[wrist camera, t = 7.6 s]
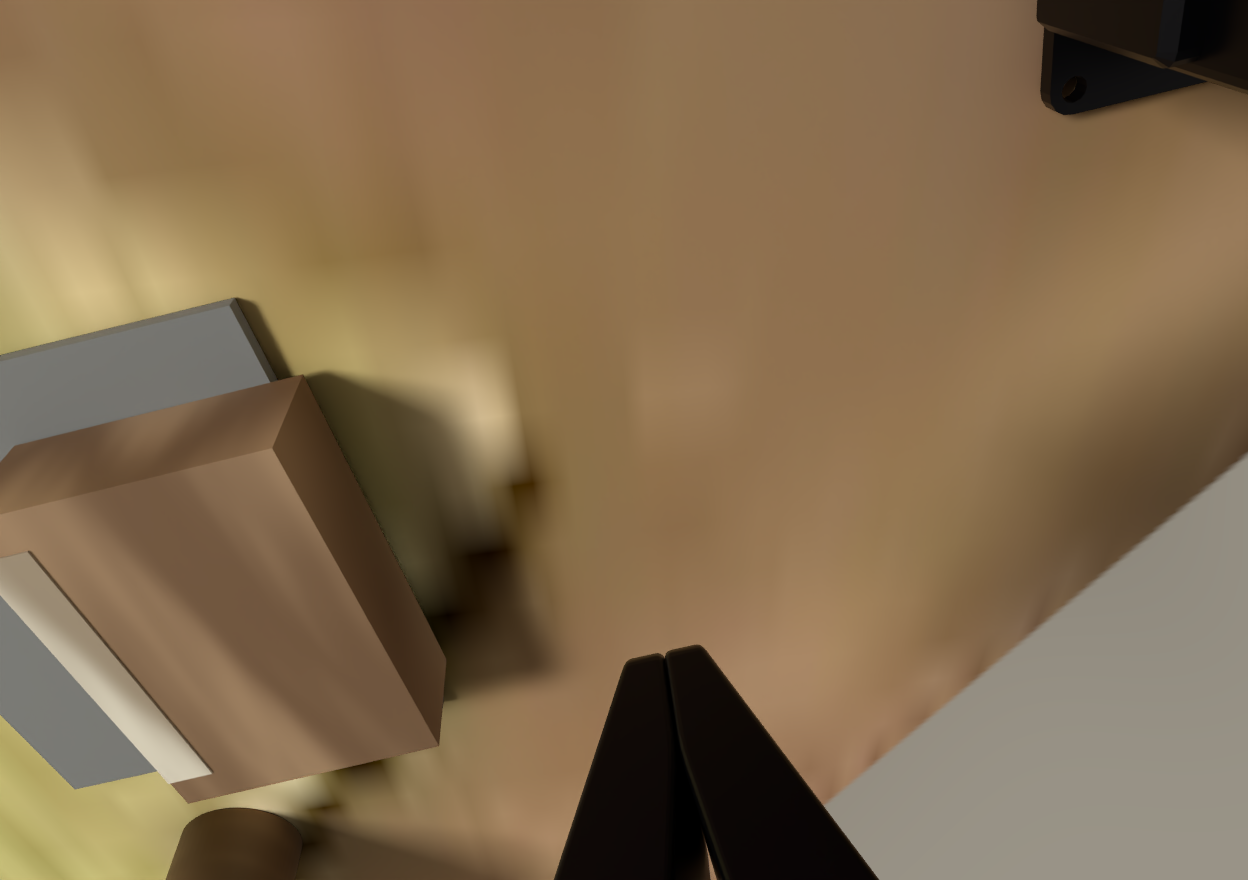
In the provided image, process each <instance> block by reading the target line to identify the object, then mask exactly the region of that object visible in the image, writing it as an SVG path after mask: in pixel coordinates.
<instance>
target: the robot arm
mask: <svg viewBox="0 0 1248 880" xmlns="http://www.w3.org/2000/svg"><path fill="white" fill-rule="evenodd" d="M1037 21H1038V22H1039V23H1040V24H1042V25H1043V26H1044V39H1043V56H1042V73H1041V90H1040V92H1041V99H1042V101H1043V103H1044V104H1045V106H1046V107H1048V108H1050V109H1052V110H1054V111H1056V112H1058V113H1061V114H1063V115H1070V114H1076V113H1080V112H1084V111H1088V110H1093V109H1097V108H1101V107H1105V106H1109V105H1113V104H1117V103H1121V102H1125V101H1129V100H1133V99H1138V98H1142V97H1146V96H1150V95H1154V94H1158V93H1162V92H1166V91H1170V90H1174V89H1178V88H1183V87H1187V86H1191V85H1195V84H1199V83H1203V82H1207V81H1208V82H1211V83H1215V84H1218V85H1221V86H1224V87H1227V88H1230V89H1233V90H1236V91H1239V92H1242V93H1245V94H1248V0H1037ZM1075 76H1076V80H1077V83H1076V86H1075V89H1074V90H1073V92H1072V93H1071V94H1070V95H1068V96H1067V97H1065V98H1063V96H1062V90H1063V87H1064V85H1065V84H1066V83H1067V81H1068V80H1069V79H1071V78H1073V77H1075ZM706 844H707V847H706ZM707 848H708V851H709V855H710V858H711V861H712V865H713V868H714V872H715V875H716V878H717V880H879V879H878V878H877V876H876V875H875V874H874V872H873V871H872V870H871V868H870V867H869V866H868V864H867V863H866V862H865V860H864V859H863V858H862V857H861V855H860V854H859V853H858V851H857V850H856V848H855V847H854V846H853V845H852V843H851V842H850V840H849V839H848V838H847V836H846V835H845V834H844V833H843V831H842V830H841V829H840V827H839V826H838V825H837V823H836V822H835V821H834V819H833V818H832V817H831V815H830V814H829V813H828V811H827V810H826V809H825V807H824V806H823V805H822V803H821V802H820V801H819V799H818V798H817V797H816V795H815V794H814V793H813V791H812V790H811V789H810V787H809V786H808V785H807V783H806V782H805V781H804V779H803V778H802V777H801V775H800V774H799V773H798V771H797V770H796V769H795V768H794V766H793V765H792V764H791V762H790V761H789V760H788V758H787V757H786V756H785V754H784V753H783V752H782V750H781V749H780V748H779V746H778V745H777V744H776V742H775V741H774V740H773V738H772V737H771V736H770V734H769V733H768V732H767V730H766V729H765V728H764V726H763V725H762V724H761V722H760V721H759V720H758V718H757V717H756V716H755V714H754V713H753V712H752V710H751V709H750V708H749V707H748V705H747V704H746V703H745V701H744V700H743V699H742V697H741V696H740V695H739V693H738V692H737V691H736V689H735V688H734V687H733V685H732V684H731V683H730V681H729V680H728V679H727V677H726V676H725V675H724V673H723V672H722V671H721V669H720V668H719V667H718V665H717V664H716V663H715V661H714V660H713V659H712V657H711V656H710V655H709V653H708V652H707V651H706V650H705V649H704V648H703V647H702V646H701V645H692V646H687V647H682V648H678V649H673V650H670V651H668V652H667V653H666V655H665V658H664V656H663V655H661V654H659V653H655V654H651V655H646V656H642V657H637V658H633V659H630V660H628V661H627V662H626V663H625V665H624V667H623V670H622V673H621V676H620V679H619V682H618V685H617V688H616V691H615V694H614V697H613V701H612V704H611V707H610V710H609V713H608V716H607V719H606V722H605V725H604V728H603V731H602V734H601V737H600V740H599V743H598V746H597V749H596V752H595V755H594V759H593V762H592V765H591V768H590V771H589V774H588V777H587V780H586V783H585V786H584V789H583V792H582V795H581V798H580V801H579V804H578V807H577V810H576V814H575V817H574V820H573V823H572V826H571V829H570V832H569V835H568V838H567V841H566V844H565V847H564V850H563V853H562V856H561V859H560V862H559V865H558V868H557V872H556V875H555V878H554V880H711V879H710V870H709V861H708V853H707Z"/></svg>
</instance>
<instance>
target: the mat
mask: <svg viewBox="0 0 1248 880" xmlns="http://www.w3.org/2000/svg"><path fill="white" fill-rule="evenodd" d="M274 381H278V380H277V378H276V376H275V374H274V372H273V370H272V368H271V366H270V365H269V363H268V361H267V359H266V357H265V355H264V353H263V351H262V349H261V347H260V345H259V344H258V342H257V340H256V338H255V336H254V334H253V332H252V330H251V328H250V326H249V324H248V322H247V321H246V319H245V317H244V315H243V313H242V311H241V309H240V307H239V305H238V303H237V301H236V300H235V298H231V299H227V300H223V301H219V302H215V303H211V304H207V305H203V306H199V307H194V308H190V309H186V310H182V311H178V312H174V313H170V314H166V315H162V316H158V317H154V318H150V319H146V320H142V321H137V322H133V323H129V324H125V325H121V326H117V327H113V328H109V329H105V330H101V331H97V332H93V333H89V334H84V335H80V336H76V337H72V338H68V339H64V340H60V341H56V342H52V343H48V344H44V345H40V346H36V347H31V348H27V349H23V350H19V351H15V352H11V353H7V354H3V355H0V462H1V461H2V460H3V458H4V457H5V456H6V455H7V454H8V453H9V451H10V450H11V449H12V448H13V447H14V446H15V445H19V444H24V443H28V442H32V441H36V440H40V439H44V438H48V437H52V436H56V435H60V434H64V433H68V432H72V431H76V430H80V429H84V428H88V427H92V426H96V425H100V424H104V423H109V422H113V421H117V420H121V419H125V418H129V417H133V416H137V415H141V414H145V413H149V412H153V411H157V410H161V409H165V408H169V407H173V406H177V405H181V404H185V403H189V402H193V401H198V400H202V399H206V398H210V397H214V396H218V395H222V394H226V393H230V392H234V391H238V390H242V389H246V388H250V387H254V386H258V385H262V384H266V383H270V382H274ZM443 701H444V697H443ZM442 708H443V706H442ZM0 715H1V716H2V717H3V718H4V719H5V720H6V721H7V722H8V723H9V724H10V725H11V726H12V727H13V728H14V729H15V730H16V731H17V732H18V733H19V734H20V735H21V736H22V737H23V738H24V739H25V740H26V741H27V742H28V743H29V744H30V745H31V746H32V747H33V748H34V749H35V750H36V751H37V752H38V753H39V754H40V755H41V756H42V757H43V758H44V759H45V760H46V761H47V762H48V763H49V764H50V765H51V766H52V767H53V768H54V769H55V770H56V771H57V772H58V773H59V774H60V775H61V776H62V777H63V778H64V779H65V780H66V781H67V782H68V783H69V784H70V785H71V786H72V787H73V788H74V789H79V788H83V787H88V786H92V785H97V784H101V783H106V782H111V781H115V780H120V779H124V778H129V777H133V776H138V775H142V774H147V773H151V772H156V771H157V770H156V769H155V768H154V767H153V766H152V765H151V764H150V762H149V761H148V760H147V759H146V758H145V757H144V756H143V755H142V754H141V752H140V751H139V750H138V749H137V748H136V747H135V746H134V745H133V743H132V742H131V741H130V740H129V739H128V738H127V737H126V736H125V735H124V733H123V732H122V731H121V730H120V729H119V728H118V727H117V726H116V724H115V723H114V722H113V721H112V720H111V719H110V718H109V717H108V715H107V714H106V713H105V712H104V711H103V710H102V709H101V708H100V707H99V705H98V704H97V703H96V702H95V701H94V700H93V699H92V698H91V696H90V695H89V694H88V693H87V692H86V691H85V690H84V689H83V687H82V686H81V685H80V684H79V683H78V682H77V681H76V680H75V679H74V677H73V676H72V675H71V674H70V673H69V672H68V671H67V670H66V668H65V667H64V666H63V665H62V664H61V663H60V662H59V661H58V659H57V658H56V657H55V656H54V655H53V654H52V653H51V652H50V651H49V649H48V648H47V647H46V646H45V645H44V644H43V643H42V642H41V640H40V639H39V638H38V637H37V636H36V635H35V634H34V633H33V631H32V630H31V629H30V628H29V627H28V626H27V625H26V624H25V623H24V621H23V620H22V619H21V618H20V617H19V616H18V615H17V614H16V612H15V611H14V610H13V609H12V608H11V607H10V606H9V605H8V603H7V602H6V601H5V600H4V599H3V598H2V597H1V596H0Z"/></svg>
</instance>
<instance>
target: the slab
mask: <svg viewBox="0 0 1248 880" xmlns="http://www.w3.org/2000/svg"><path fill="white" fill-rule="evenodd" d="M0 596H1V597H2V598H3V599H4V600H5V601H6V602H7V603H8V605H9V606H10V607H11V608H12V609H13V610H14V611H15V612H16V614H17V615H18V616H19V617H20V618H21V619H22V620H23V621H24V623H25V624H26V625H27V626H28V627H29V628H30V629H31V630H32V631H33V633H34V634H35V635H36V636H37V637H38V638H39V639H40V640H41V642H42V643H43V644H44V645H45V646H46V647H47V648H48V649H49V651H50V652H51V653H52V654H53V655H54V656H55V657H56V658H57V659H58V661H59V662H60V663H61V664H62V665H63V666H64V667H65V668H66V670H67V671H68V672H69V673H70V674H71V675H72V676H73V677H74V679H75V680H76V681H77V682H78V683H79V684H80V685H81V686H82V687H83V689H84V690H85V691H86V692H87V693H88V694H89V695H90V696H91V698H92V699H93V700H94V701H95V702H96V703H97V704H98V705H99V707H100V708H101V709H102V710H103V711H104V712H105V713H106V714H107V715H108V717H109V718H110V719H111V720H112V721H113V722H114V723H115V724H116V726H117V727H118V728H119V729H120V730H121V731H122V732H123V733H124V735H125V736H126V737H127V738H128V739H129V740H130V741H131V742H132V743H133V745H134V746H135V747H136V748H137V749H138V750H139V751H140V752H141V754H142V755H143V756H144V757H145V758H146V759H147V760H148V761H149V762H150V764H151V765H152V766H153V767H154V768H155V769H156V770H157V771H158V773H159V774H160V775H161V776H162V777H163V778H164V779H165V780H166V782H167V783H168V784H171V785H172V786H173V787H174V788H175V789H176V790H177V791H178V793H179V794H180V795H181V796H182V797H183V798H184V799H185V800H186V802H187V803H193V802H197V801H201V800H206V799H210V798H215V797H219V796H223V795H228V794H232V793H236V792H241V791H245V790H250V789H254V788H258V787H263V786H267V785H271V784H276V783H280V782H284V781H289V780H293V779H298V778H302V777H306V776H311V775H315V774H319V773H324V772H328V771H333V770H337V769H341V768H346V767H350V766H354V765H359V764H363V763H367V762H372V761H376V760H381V759H385V758H389V757H394V756H398V755H402V754H407V753H411V752H416V751H420V750H424V749H429V748H433V747H437V746H439V740H440V728H441V717H442V706H443V695H444V683H445V672H446V661H447V660H446V658H445V656H444V654H443V652H442V650H441V648H440V646H439V644H438V642H437V640H436V638H435V636H434V634H433V632H432V630H431V628H430V626H429V624H428V622H427V620H426V618H425V616H424V614H423V612H422V610H421V608H420V606H419V604H418V602H417V600H416V598H415V596H414V594H413V592H412V590H411V588H410V586H409V584H408V582H407V580H406V578H405V576H404V574H403V572H402V570H401V568H400V566H399V564H398V562H397V560H396V558H395V556H394V554H393V552H392V550H391V548H390V546H389V544H388V542H387V541H386V539H385V537H384V535H383V533H382V531H381V529H380V527H379V525H378V523H377V521H376V519H375V517H374V515H373V513H372V511H371V509H370V507H369V505H368V503H367V501H366V499H365V497H364V495H363V493H362V491H361V489H360V487H359V485H358V483H357V481H356V479H355V477H354V475H353V473H352V471H351V469H350V467H349V465H348V463H347V461H346V459H345V457H344V455H343V453H342V451H341V449H340V447H339V445H338V443H337V441H336V439H335V437H334V435H333V433H332V431H331V429H330V427H329V425H328V423H327V421H326V419H325V417H324V416H323V414H322V412H321V410H320V408H319V406H318V404H317V402H316V400H315V398H314V396H313V394H312V392H311V390H310V388H309V386H308V384H307V382H306V380H305V378H304V376H303V375H299V376H295V377H291V378H287V379H283V380H278V381H274V382H270V383H266V384H262V385H258V386H254V387H250V388H246V389H242V390H238V391H234V392H230V393H226V394H222V395H218V396H214V397H210V398H206V399H202V400H198V401H193V402H189V403H185V404H181V405H177V406H173V407H169V408H165V409H161V410H157V411H153V412H149V413H145V414H141V415H137V416H133V417H129V418H125V419H121V420H117V421H113V422H109V423H104V424H100V425H96V426H92V427H88V428H84V429H80V430H76V431H72V432H68V433H64V434H60V435H56V436H52V437H48V438H44V439H40V440H36V441H32V442H28V443H24V444H19V445H15V446H14V447H13V448H12V449H11V450H10V451H9V453H8V454H7V455H6V456H5V457H4V458H3V460H2V461H1V462H0Z"/></svg>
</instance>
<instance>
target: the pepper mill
mask: <svg viewBox="0 0 1248 880" xmlns="http://www.w3.org/2000/svg"><path fill="white" fill-rule="evenodd" d="M302 845H303V842H302V838H301V835H300V833H299V832H298V830H297V829H296V828H295V827H294V826H293V825H292V824H290V823H289V822H288V821H286V820H284V819H282V818H280V817H278V816H276V815H273V814H271V813H267V812H264V811H259V810H254V809H245V808H229V809H220V810H215V811H211V812H208V813H205V814H202V815H200V816H198V817H196V818H195V819H193V820H192V821H191V822H189V823H188V824H187V826H186V827H185V828H184V830H183V832H182V835H181V838H180V841H179V844H178V846H177V849H176V852H175V855H174V858H173V860H172V863H171V866H170V869H169V872H168V875H167V877H166V880H295V877H296V873H297V868H298V864H299V860H300V855H301V851H302Z"/></svg>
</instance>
